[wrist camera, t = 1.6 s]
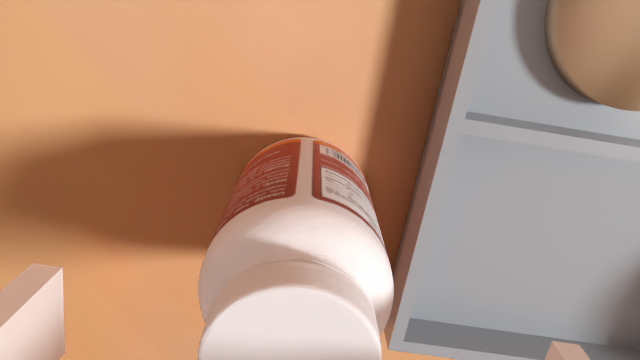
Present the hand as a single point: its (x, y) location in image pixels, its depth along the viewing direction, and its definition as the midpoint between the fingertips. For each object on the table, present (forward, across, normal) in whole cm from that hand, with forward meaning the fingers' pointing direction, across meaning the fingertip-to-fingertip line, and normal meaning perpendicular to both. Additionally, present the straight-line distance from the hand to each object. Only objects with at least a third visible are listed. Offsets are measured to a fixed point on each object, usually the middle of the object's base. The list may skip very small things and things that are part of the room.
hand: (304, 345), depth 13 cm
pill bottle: (+10, -1, 0) cm, 10 cm away
